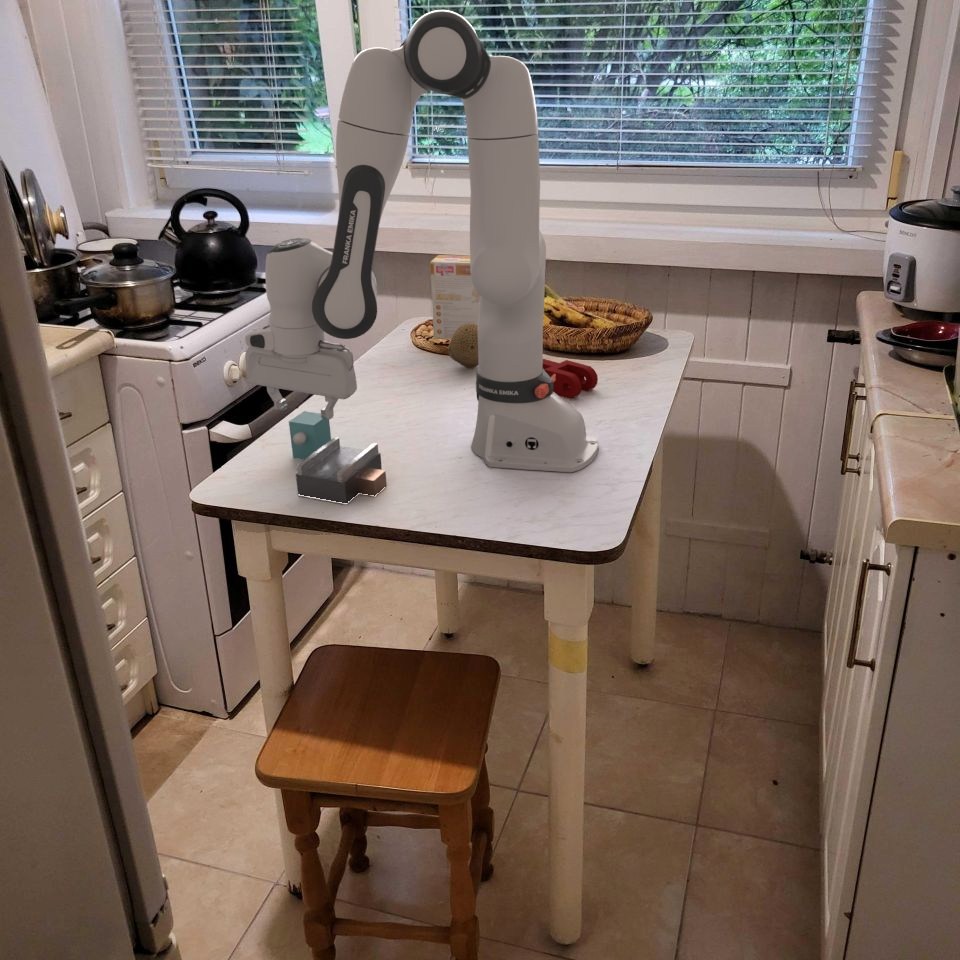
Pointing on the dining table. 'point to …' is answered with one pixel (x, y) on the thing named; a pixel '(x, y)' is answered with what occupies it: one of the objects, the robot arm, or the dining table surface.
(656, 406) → the dining table surface
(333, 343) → the robot arm
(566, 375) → the mechanical linkage
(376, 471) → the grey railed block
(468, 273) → the coffeecake box
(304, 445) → the block
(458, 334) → the natural sponge
